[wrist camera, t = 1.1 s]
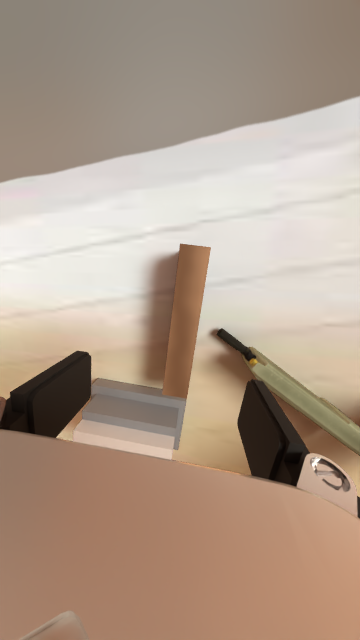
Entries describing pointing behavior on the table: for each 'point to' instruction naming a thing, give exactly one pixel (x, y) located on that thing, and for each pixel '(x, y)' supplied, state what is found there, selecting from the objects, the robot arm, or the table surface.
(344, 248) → the table surface
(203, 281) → the walnut bar
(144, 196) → the table surface
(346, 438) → the handheld radio
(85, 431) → the ridge stand
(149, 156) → the table surface
